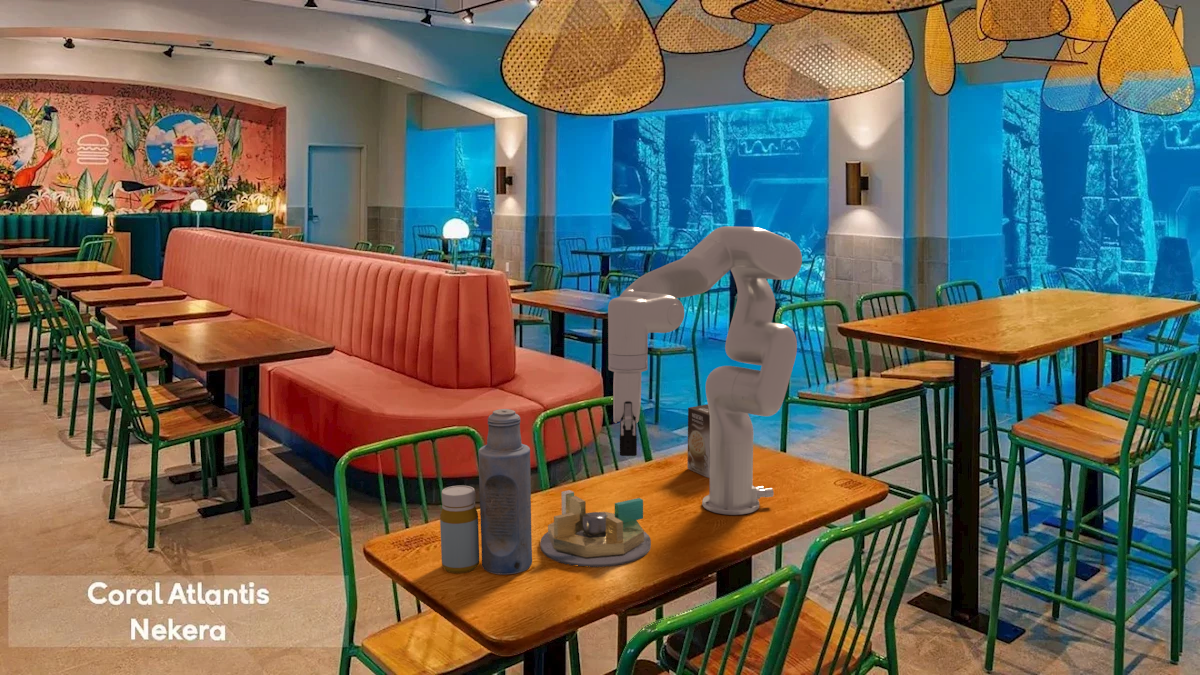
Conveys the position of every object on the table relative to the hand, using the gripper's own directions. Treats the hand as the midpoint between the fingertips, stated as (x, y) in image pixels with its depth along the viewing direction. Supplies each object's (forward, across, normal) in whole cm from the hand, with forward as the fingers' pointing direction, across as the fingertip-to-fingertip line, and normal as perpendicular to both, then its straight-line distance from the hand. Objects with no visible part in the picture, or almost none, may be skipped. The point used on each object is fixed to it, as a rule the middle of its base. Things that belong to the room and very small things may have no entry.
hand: (628, 448), depth 183 cm
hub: (+20, -2, -7) cm, 22 cm away
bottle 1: (+21, +9, -32) cm, 39 cm away
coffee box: (+21, -51, +20) cm, 59 cm away
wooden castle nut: (+19, -2, -6) cm, 20 cm away
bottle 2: (+21, +8, -23) cm, 32 cm away
